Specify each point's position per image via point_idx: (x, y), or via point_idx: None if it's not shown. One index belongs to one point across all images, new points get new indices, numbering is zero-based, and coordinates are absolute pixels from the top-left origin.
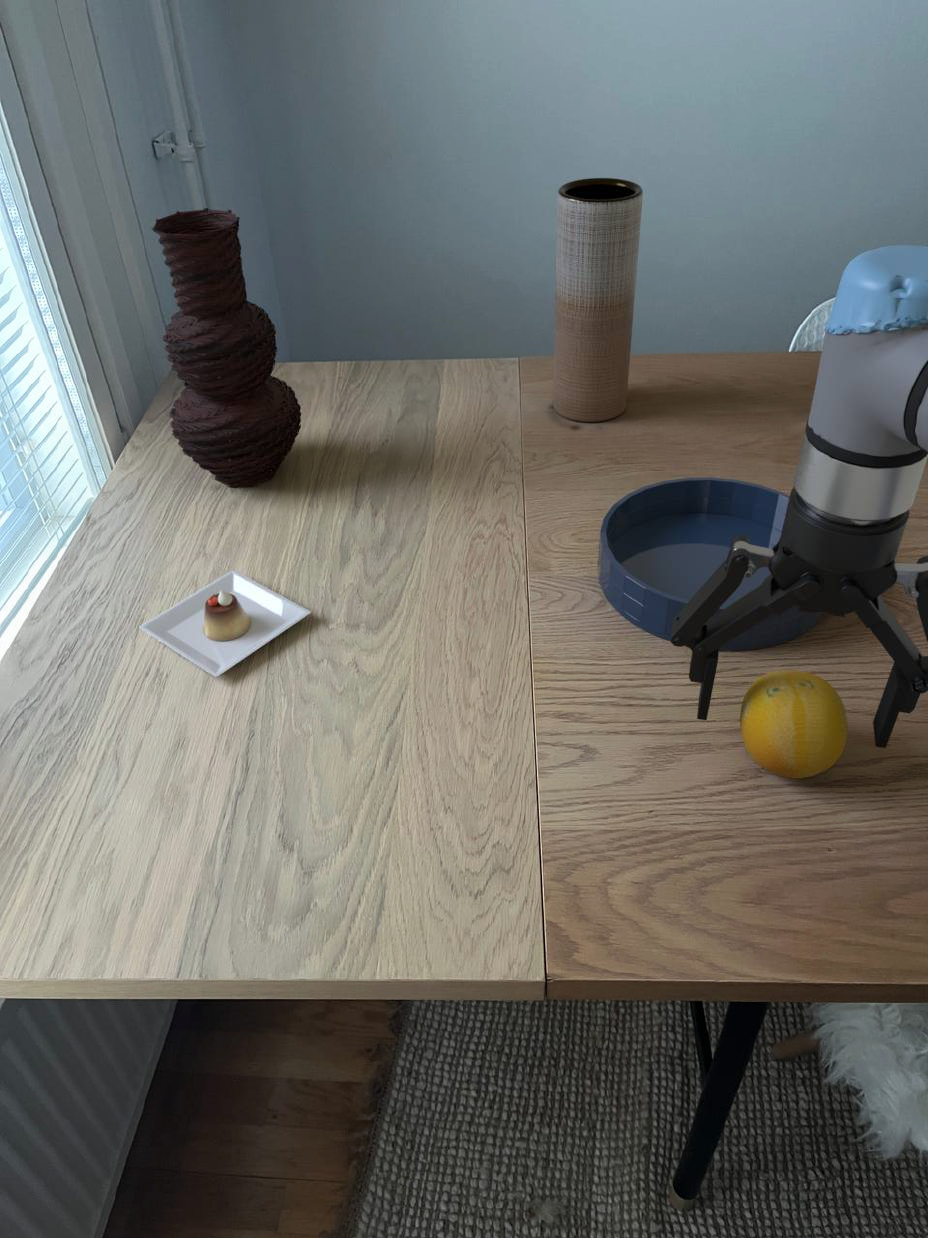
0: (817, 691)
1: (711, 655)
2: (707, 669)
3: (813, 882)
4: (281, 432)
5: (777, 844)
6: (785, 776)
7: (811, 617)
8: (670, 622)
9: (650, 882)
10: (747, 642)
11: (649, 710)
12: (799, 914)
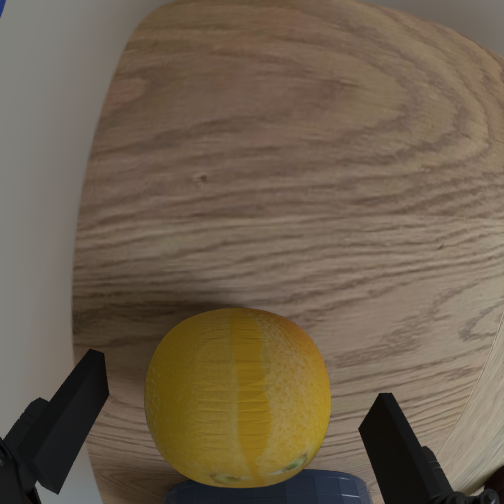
0: (203, 467)
1: (432, 500)
2: (434, 475)
3: (243, 114)
4: (501, 496)
5: (285, 186)
6: (256, 309)
7: (182, 494)
8: (336, 489)
9: (455, 133)
10: None
11: None
12: (277, 62)
